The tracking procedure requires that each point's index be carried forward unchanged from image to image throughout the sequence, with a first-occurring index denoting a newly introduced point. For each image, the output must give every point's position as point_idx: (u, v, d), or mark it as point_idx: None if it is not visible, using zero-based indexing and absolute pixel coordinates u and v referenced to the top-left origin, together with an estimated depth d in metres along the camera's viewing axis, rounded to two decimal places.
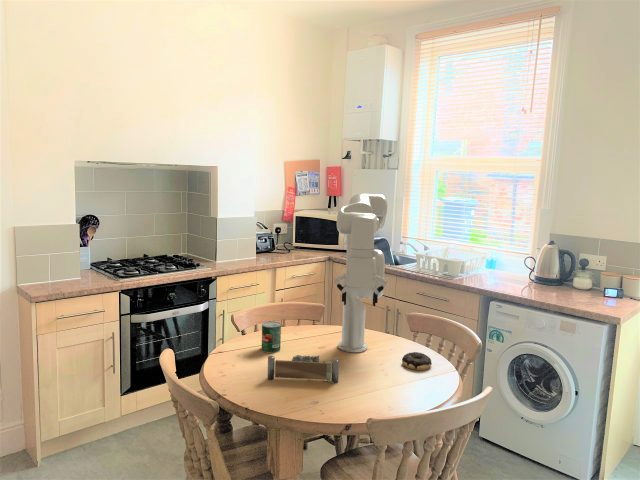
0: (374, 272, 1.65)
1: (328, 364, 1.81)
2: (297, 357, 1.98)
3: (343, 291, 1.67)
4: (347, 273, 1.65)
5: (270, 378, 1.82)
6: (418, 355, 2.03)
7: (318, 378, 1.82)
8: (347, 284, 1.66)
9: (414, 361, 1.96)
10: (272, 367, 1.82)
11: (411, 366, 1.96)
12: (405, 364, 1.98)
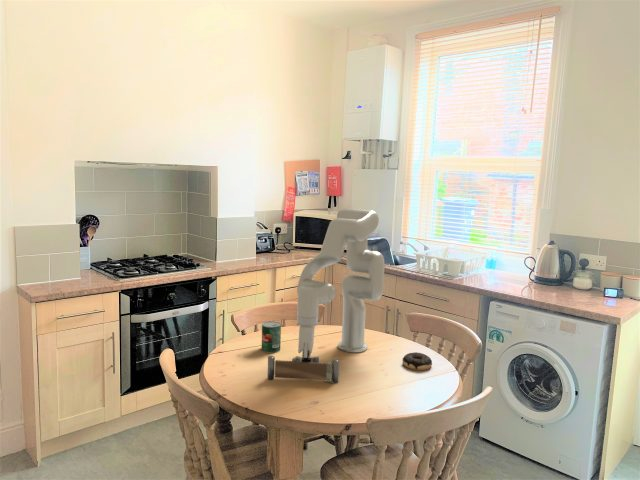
0: None
1: (328, 365, 1.80)
2: (296, 358, 1.97)
3: (309, 358, 1.83)
4: (311, 341, 1.79)
5: (270, 378, 1.82)
6: (418, 355, 2.02)
7: (318, 379, 1.81)
8: (311, 351, 1.80)
9: (414, 361, 1.96)
10: (272, 367, 1.82)
11: (411, 366, 1.96)
12: (405, 364, 1.98)
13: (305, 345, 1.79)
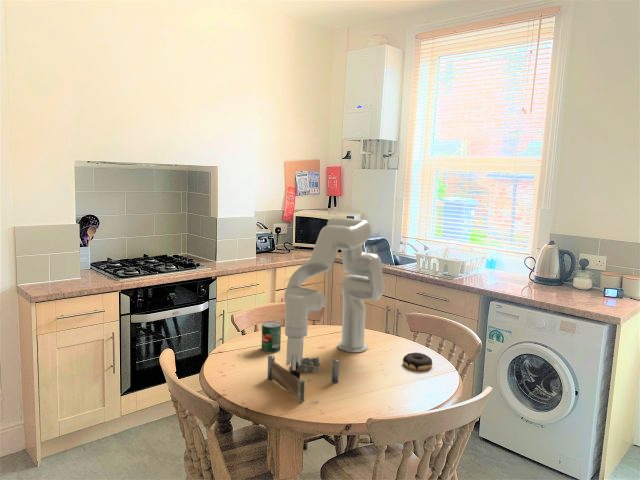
0: None
1: (298, 382, 1.65)
2: None
3: (298, 370, 1.73)
4: (300, 353, 1.68)
5: (270, 378, 1.82)
6: (419, 355, 2.02)
7: (293, 394, 1.69)
8: (300, 363, 1.69)
9: (415, 361, 1.96)
10: None
11: (412, 366, 1.96)
12: (406, 364, 1.98)
13: (293, 357, 1.69)
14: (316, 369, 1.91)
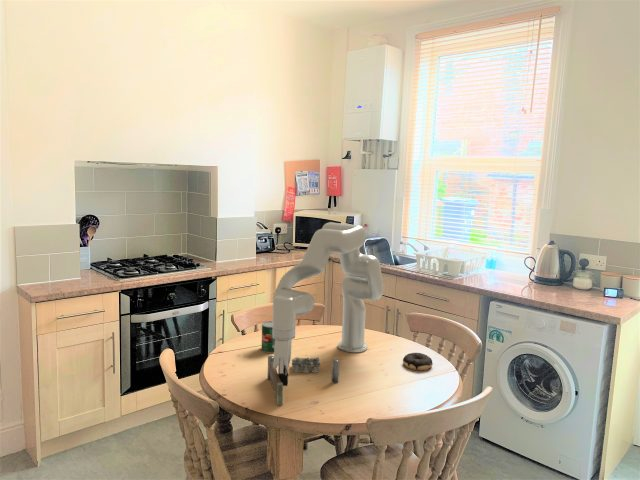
0: None
1: (277, 385, 1.62)
2: (296, 359, 1.96)
3: (286, 373, 1.70)
4: (288, 356, 1.66)
5: None
6: (419, 355, 2.02)
7: (276, 396, 1.67)
8: (287, 366, 1.66)
9: (415, 361, 1.95)
10: None
11: (412, 366, 1.96)
12: (406, 364, 1.98)
13: (281, 360, 1.66)
14: (316, 369, 1.91)
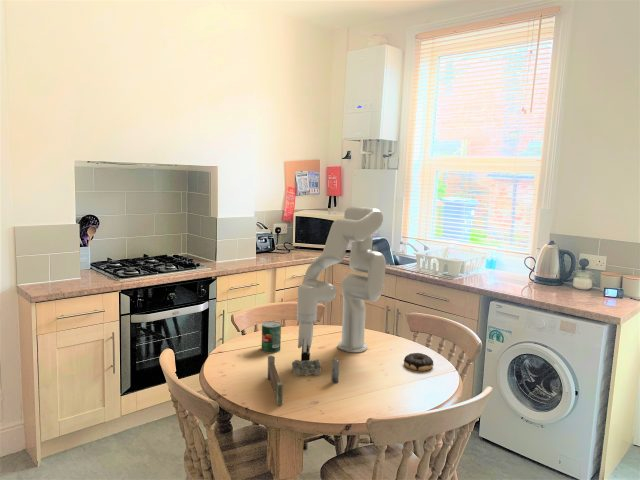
0: None
1: (277, 385, 1.62)
2: (296, 362, 1.93)
3: (308, 353, 1.94)
4: (310, 337, 1.90)
5: None
6: (420, 356, 2.02)
7: (276, 396, 1.67)
8: (310, 346, 1.91)
9: (416, 362, 1.95)
10: None
11: (413, 367, 1.95)
12: (407, 365, 1.97)
13: (304, 341, 1.90)
14: (317, 372, 1.88)
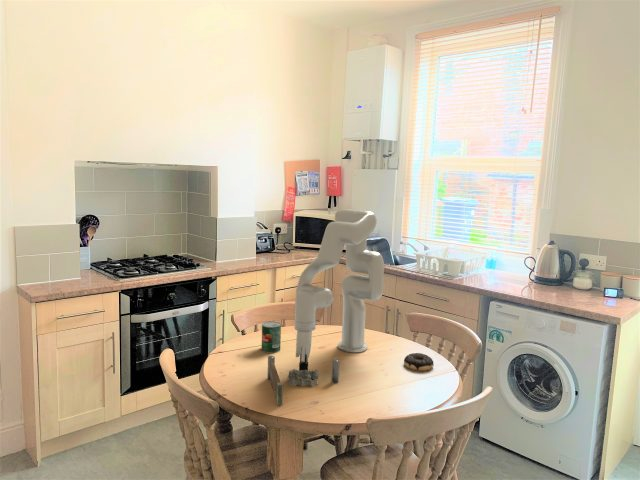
0: None
1: (277, 385, 1.62)
2: (293, 372, 1.84)
3: (307, 362, 1.85)
4: (309, 346, 1.81)
5: None
6: (420, 356, 2.02)
7: (276, 396, 1.67)
8: (308, 355, 1.81)
9: (416, 362, 1.95)
10: None
11: (413, 367, 1.95)
12: (407, 365, 1.97)
13: (302, 349, 1.81)
14: (314, 383, 1.79)
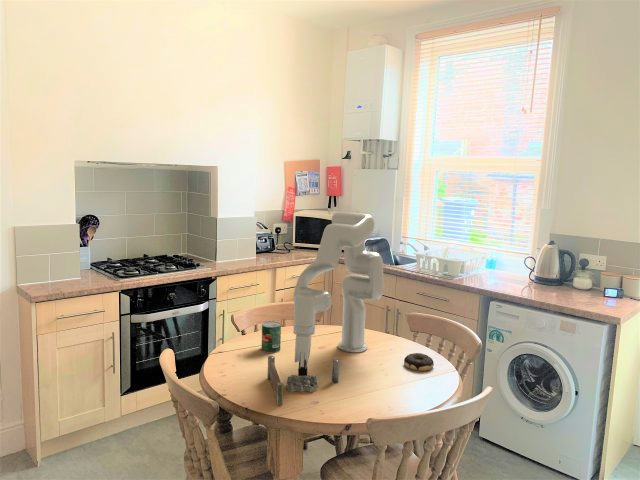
0: None
1: (277, 385, 1.62)
2: (292, 377, 1.80)
3: None
4: (308, 350, 1.76)
5: None
6: (420, 356, 2.02)
7: (276, 396, 1.67)
8: (308, 360, 1.77)
9: (416, 362, 1.95)
10: None
11: (413, 367, 1.95)
12: (407, 365, 1.97)
13: (302, 354, 1.76)
14: (313, 389, 1.74)
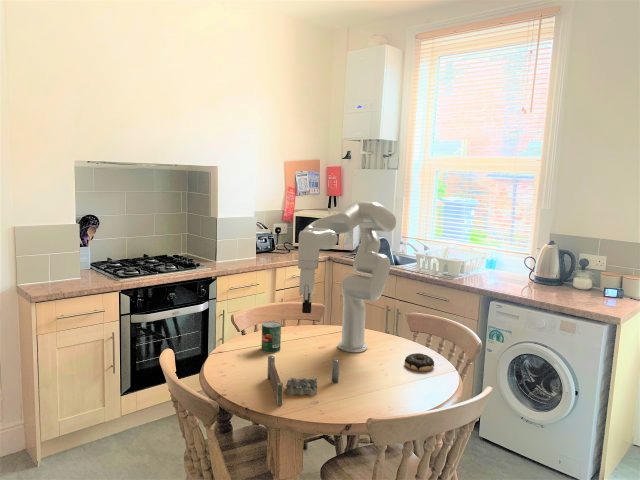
0: None
1: (277, 385, 1.62)
2: (292, 380, 1.77)
3: (310, 301, 1.88)
4: (312, 284, 1.83)
5: None
6: (421, 356, 2.01)
7: (276, 396, 1.67)
8: (312, 293, 1.84)
9: (416, 362, 1.95)
10: None
11: (413, 367, 1.95)
12: (407, 365, 1.97)
13: (306, 288, 1.84)
14: (313, 392, 1.71)
